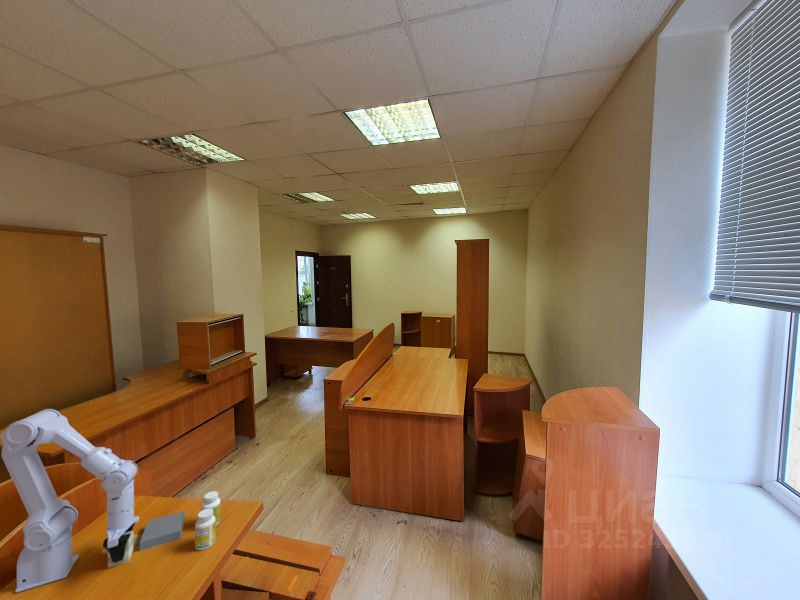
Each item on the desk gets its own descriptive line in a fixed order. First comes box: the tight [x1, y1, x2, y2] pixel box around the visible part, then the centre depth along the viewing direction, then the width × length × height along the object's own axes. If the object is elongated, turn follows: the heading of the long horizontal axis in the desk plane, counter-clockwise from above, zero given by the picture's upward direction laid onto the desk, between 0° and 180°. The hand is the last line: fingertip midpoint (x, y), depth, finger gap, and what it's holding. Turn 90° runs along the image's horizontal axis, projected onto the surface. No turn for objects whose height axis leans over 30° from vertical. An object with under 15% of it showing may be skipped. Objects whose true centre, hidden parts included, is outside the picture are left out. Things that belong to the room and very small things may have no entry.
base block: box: [139, 510, 186, 552], centre depth 98 cm, size 10×10×3 cm
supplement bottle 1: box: [201, 490, 221, 526], centre depth 103 cm, size 5×5×10 cm
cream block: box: [107, 530, 134, 569], centre depth 89 cm, size 4×4×6 cm
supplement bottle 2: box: [194, 508, 217, 551], centre depth 94 cm, size 5×5×10 cm
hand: (121, 554), depth 89 cm, fingers closed on cream block, 4 cm apart
